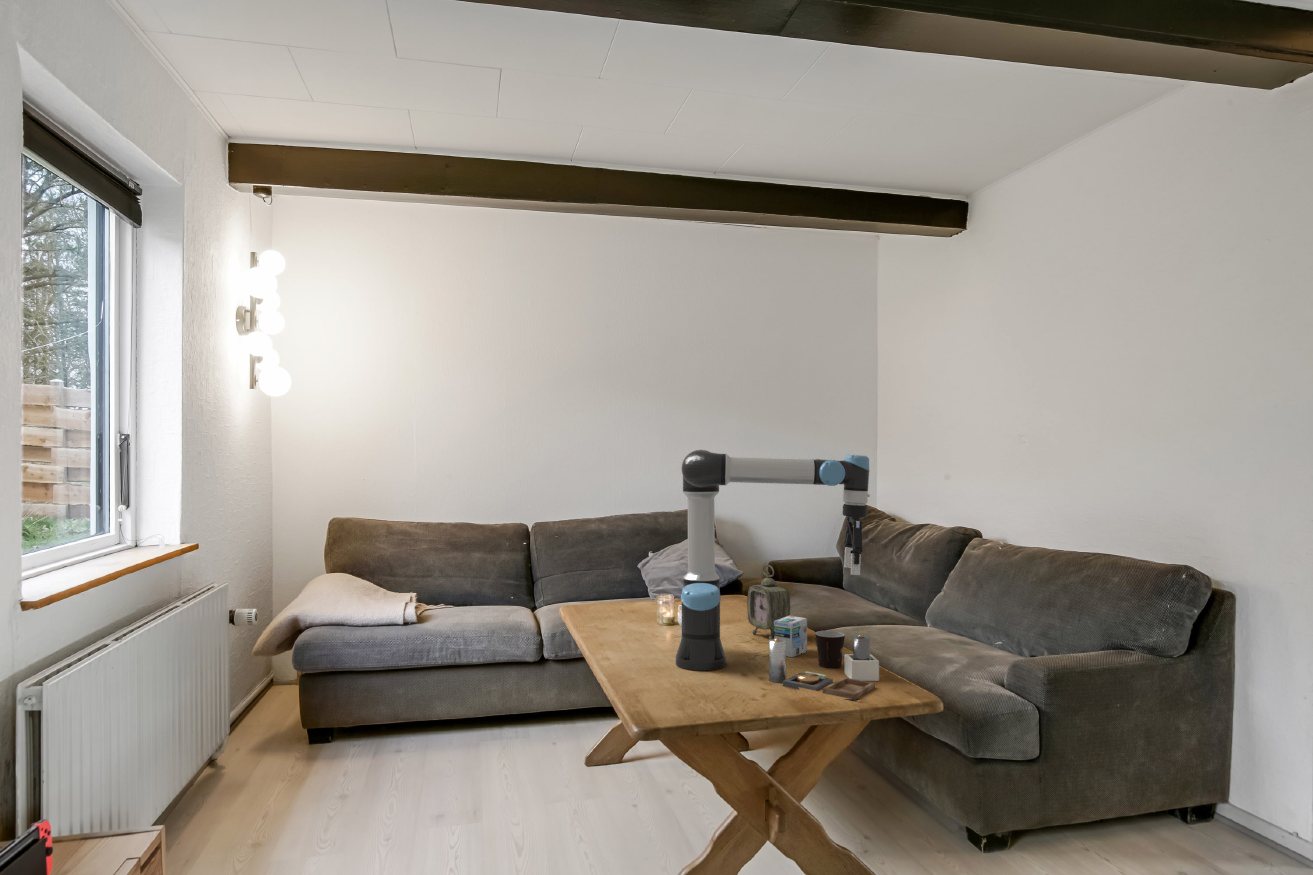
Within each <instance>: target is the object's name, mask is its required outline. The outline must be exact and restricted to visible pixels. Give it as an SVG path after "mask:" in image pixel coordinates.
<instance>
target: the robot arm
mask: <svg viewBox="0 0 1313 875" xmlns="http://www.w3.org/2000/svg"><path fill="white" fill-rule="evenodd" d="M681 474H682V493H683V494H684V496H686V497H687V572H686V574H685V575H683V580H682V585H683V586H682V587H683V588H682V589H681V594H680V595H681V596H680V601H681V639H680V641H679V646H678V648H677V652H676V655H675V665H676V666H677V667H679V668H681V669H684V670H690V671H713V670H719V669H721V668H724V667H726V665H727V657H726V653H725V651H724V648H723V644H722V641H721V599H722V598H721V592H720V591H721V590H720V586H721V585H720V576H719V575H718V574H717V573H716V571H715V570H716V569H715V566H716V562H715V561H716V559H715V557H716V555H715V554H716V553H715V551H716V550H715V547H716V546H715V545H716V543H715V542H716V541H715V529H716V528H715V499H716V498H715V497H716V496H717V495H718V494H719V493H720V486H727V485H728V484H729V483H747V484H749V483H750V484H751V483H752V484H753V483H754V484H784V485H785V484H786V485H787V484H788V485H814V486H815V485H819V486H821V485H822V486H828V487H829V486H830V487H832V486H833V487H835V486H837V485H843V490H842V491H843V494H842V496H843V497H842V502H843V505H842V515H843V516H844V517H846V528H845V536H844V541H843V542H844V564H843V565H844V566H843V567H844V568H847V569H849V568H850V575H854V576H860V575H861V563H862V562H861V560H862V553H863V552H864V550H863V521H861V520H860V519H861V518H866V517H867V516H868V505H866V504H868V498H870V494H869V479H870V478H869V477H870V458H869V457H868V456H867V455H862V454H861V455H859V454H858V455H857V454H856V455H855V454H847V455H845V458H844V460H835V459H819V458H816V459H814V458H813V459H808V458H807V459H802V458H801V459H800V458H799V459H798V458H797V459H795V458H771V457H769V458H766V457H763V458H762V457H733V456H730V455H728V454H727V453H716V452H710V451H709V450H706V449H696V450H693V451H691V452H689V453H688V454H686V456H685V457H684V459H683V460H682V463H681Z"/></svg>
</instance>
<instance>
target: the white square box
mask: <svg viewBox="0 0 1313 875" xmlns="http://www.w3.org/2000/svg"><path fill="white" fill-rule="evenodd" d="M843 654H844V653H843ZM843 657H844V675H846V676H847V678H850V679H856V680H861V681H866V682H872V681H873V682H877V681H880V661H879V660H878V658H876V657H875V656H874V655H873V654H871V653H870V660H853V653H851V654H850V653H848V654H847V653H845V654H844V656H843Z"/></svg>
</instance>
